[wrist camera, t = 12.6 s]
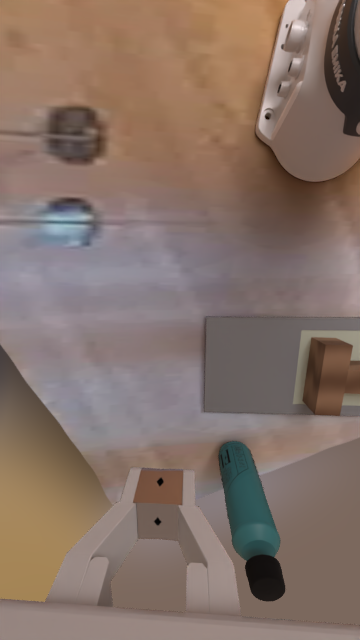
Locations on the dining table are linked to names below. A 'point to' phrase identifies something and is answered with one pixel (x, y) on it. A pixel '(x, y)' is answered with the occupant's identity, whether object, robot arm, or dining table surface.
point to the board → (268, 362)
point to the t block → (330, 375)
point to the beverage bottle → (251, 521)
